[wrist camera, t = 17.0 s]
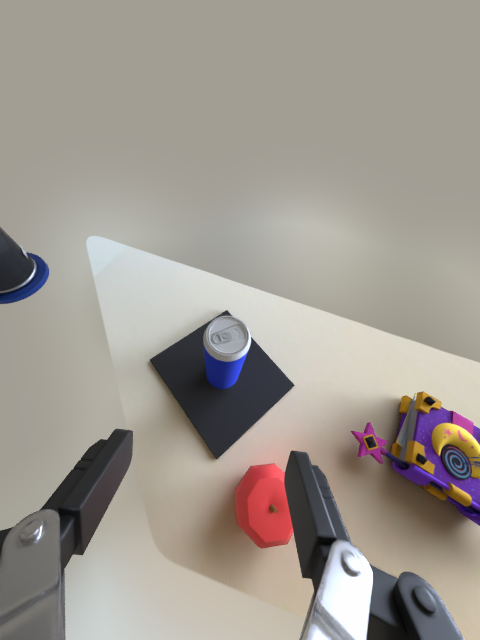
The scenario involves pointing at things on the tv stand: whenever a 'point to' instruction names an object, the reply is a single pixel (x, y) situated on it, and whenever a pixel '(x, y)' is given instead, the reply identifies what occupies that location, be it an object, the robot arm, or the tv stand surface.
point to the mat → (220, 404)
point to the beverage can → (225, 350)
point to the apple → (264, 506)
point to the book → (433, 452)
